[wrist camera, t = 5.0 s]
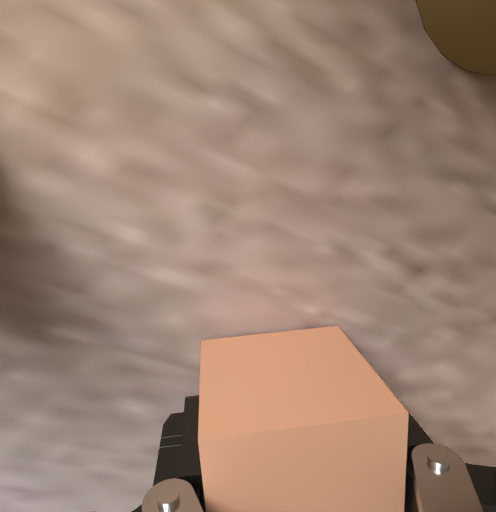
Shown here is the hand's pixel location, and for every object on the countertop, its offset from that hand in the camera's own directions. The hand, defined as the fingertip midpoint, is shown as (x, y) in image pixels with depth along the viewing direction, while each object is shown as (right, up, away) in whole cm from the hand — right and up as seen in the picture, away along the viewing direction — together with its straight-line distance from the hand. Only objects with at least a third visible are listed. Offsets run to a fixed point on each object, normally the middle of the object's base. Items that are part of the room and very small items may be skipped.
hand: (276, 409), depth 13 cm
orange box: (0, -1, +1) cm, 1 cm away
